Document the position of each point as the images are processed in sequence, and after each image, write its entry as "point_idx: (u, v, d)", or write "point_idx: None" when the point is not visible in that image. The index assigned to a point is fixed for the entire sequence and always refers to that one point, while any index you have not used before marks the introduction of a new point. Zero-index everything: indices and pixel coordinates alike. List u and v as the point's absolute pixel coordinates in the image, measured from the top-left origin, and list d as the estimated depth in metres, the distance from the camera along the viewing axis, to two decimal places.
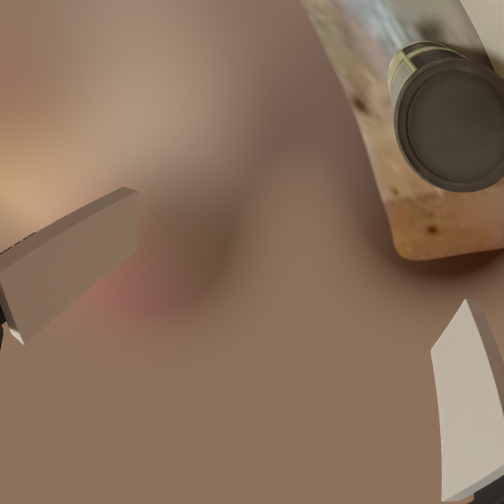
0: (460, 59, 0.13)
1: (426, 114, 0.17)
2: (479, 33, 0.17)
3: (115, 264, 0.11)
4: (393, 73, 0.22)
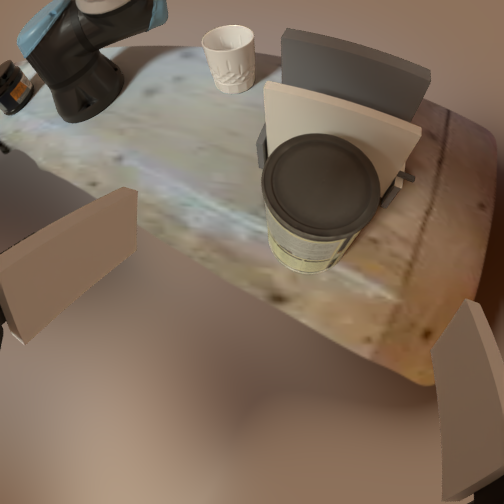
0: (276, 148, 0.26)
1: (293, 196, 0.25)
2: None
3: (115, 264, 0.11)
4: (269, 233, 0.33)
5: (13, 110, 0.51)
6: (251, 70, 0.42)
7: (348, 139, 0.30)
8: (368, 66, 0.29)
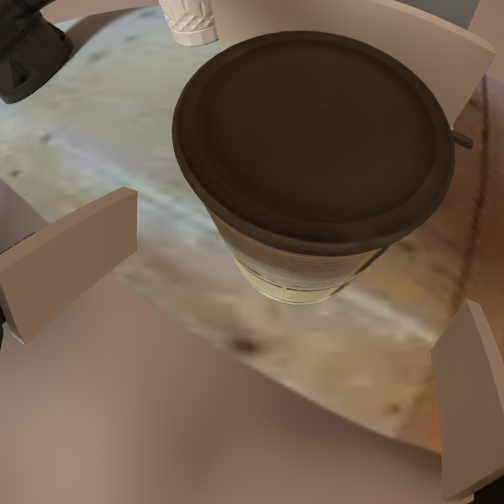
0: (217, 54, 0.11)
1: (245, 140, 0.09)
2: None
3: (115, 264, 0.11)
4: None
5: None
6: None
7: None
8: None
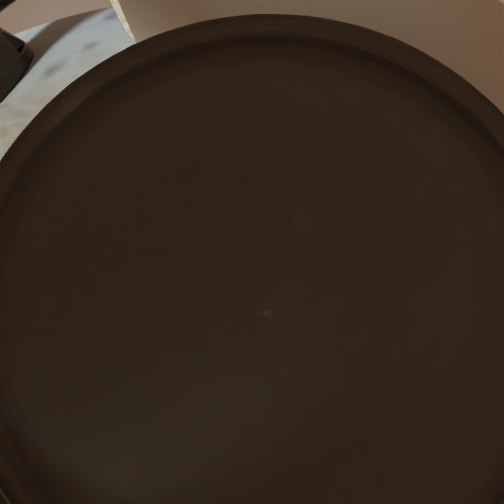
0: (41, 111, 0.04)
1: (45, 420, 0.03)
2: None
3: None
4: None
5: None
6: None
7: None
8: None
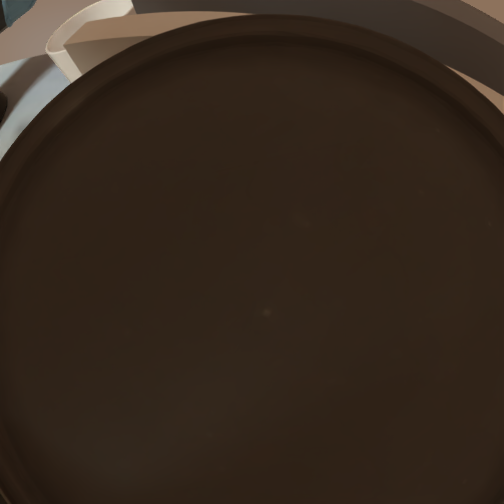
0: (41, 111, 0.04)
1: (45, 420, 0.03)
2: None
3: None
4: None
5: None
6: None
7: None
8: (406, 30, 0.07)
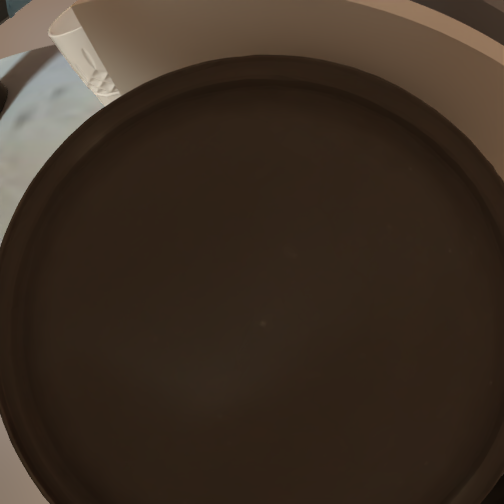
0: (64, 142, 0.05)
1: (82, 411, 0.04)
2: None
3: None
4: None
5: None
6: None
7: None
8: None
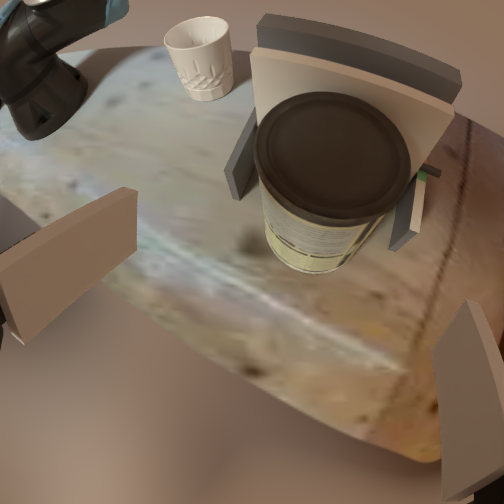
0: (273, 107, 0.19)
1: (296, 165, 0.18)
2: None
3: (115, 264, 0.11)
4: (266, 222, 0.26)
5: None
6: (227, 71, 0.34)
7: None
8: (376, 62, 0.20)
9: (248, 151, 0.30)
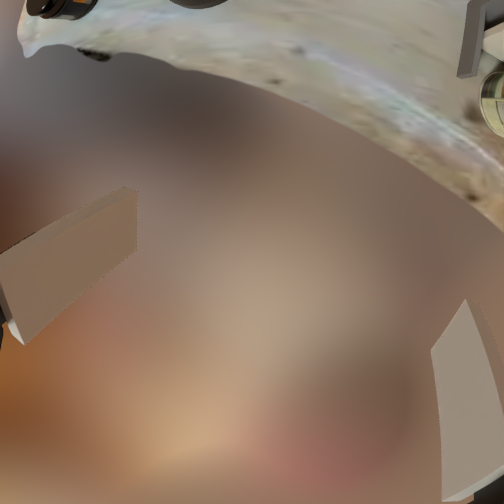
0: None
1: None
2: (498, 57, 0.24)
3: (115, 264, 0.11)
4: (497, 115, 0.26)
5: (84, 12, 0.38)
6: None
7: None
8: None
9: None
